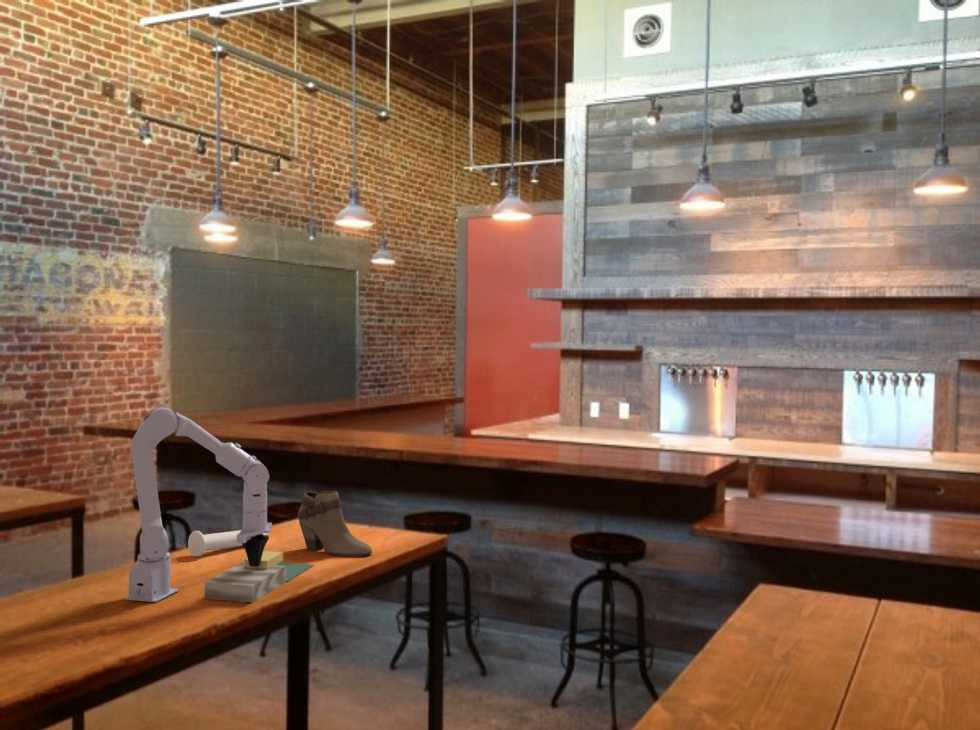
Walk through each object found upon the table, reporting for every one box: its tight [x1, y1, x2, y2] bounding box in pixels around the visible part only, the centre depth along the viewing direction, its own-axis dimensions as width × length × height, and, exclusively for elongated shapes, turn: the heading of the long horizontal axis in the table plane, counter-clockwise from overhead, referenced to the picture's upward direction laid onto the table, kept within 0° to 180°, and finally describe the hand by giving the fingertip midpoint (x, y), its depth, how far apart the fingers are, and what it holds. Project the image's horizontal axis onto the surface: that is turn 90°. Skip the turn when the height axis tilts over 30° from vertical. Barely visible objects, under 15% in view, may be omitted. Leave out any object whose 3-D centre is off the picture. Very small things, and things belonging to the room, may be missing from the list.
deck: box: [204, 562, 287, 604], centre depth 209 cm, size 18×12×4 cm, turn 169°
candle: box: [187, 529, 269, 558], centre depth 249 cm, size 7×7×25 cm
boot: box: [297, 490, 373, 557], centre depth 247 cm, size 8×24×17 cm, turn 72°
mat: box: [275, 561, 314, 583], centre depth 225 cm, size 16×13×1 cm
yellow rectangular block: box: [244, 550, 284, 569], centre depth 218 cm, size 9×6×2 cm, turn 169°
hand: (254, 565), depth 212 cm, fingers closed
